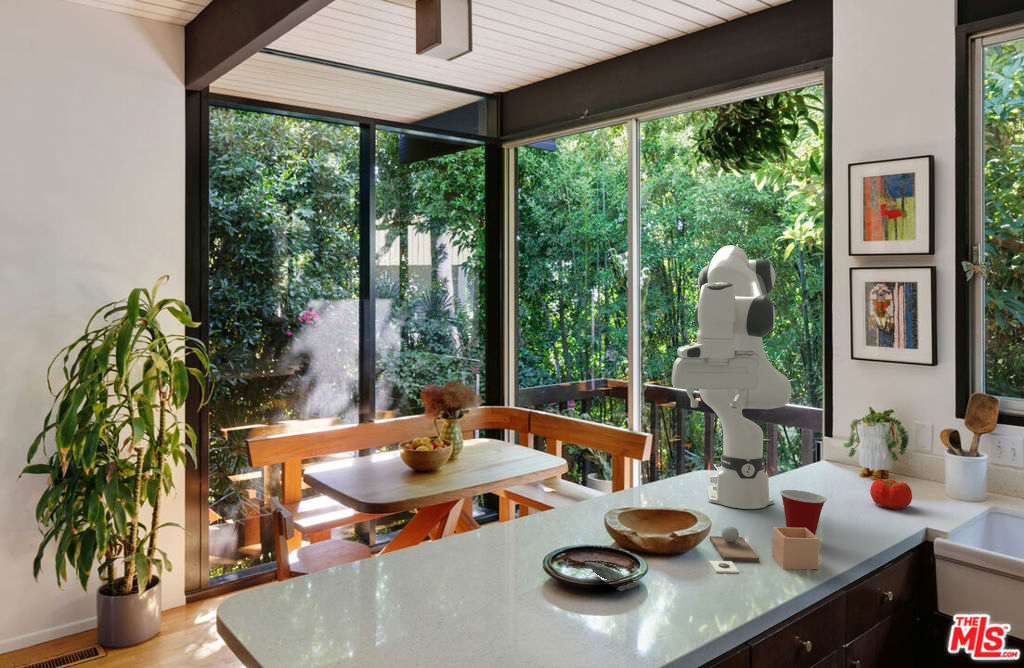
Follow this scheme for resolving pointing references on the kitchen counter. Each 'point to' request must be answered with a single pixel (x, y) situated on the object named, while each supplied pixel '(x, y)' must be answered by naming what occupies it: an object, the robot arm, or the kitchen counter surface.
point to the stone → (610, 574)
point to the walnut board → (734, 550)
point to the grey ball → (730, 534)
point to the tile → (724, 567)
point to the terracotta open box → (795, 548)
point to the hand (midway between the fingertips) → (714, 407)
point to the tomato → (891, 493)
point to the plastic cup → (802, 509)
